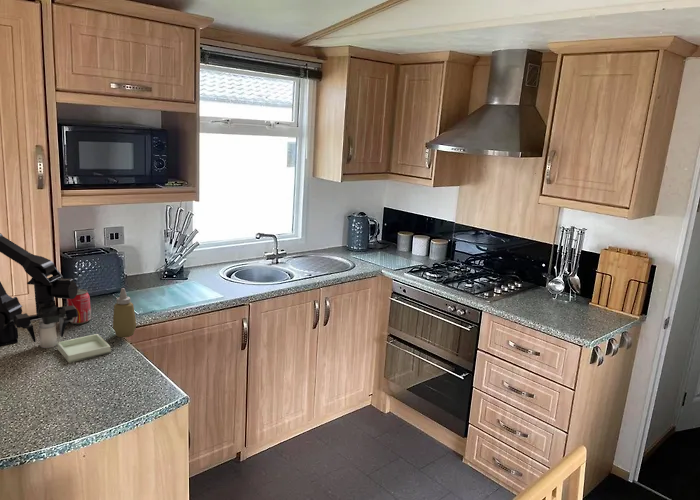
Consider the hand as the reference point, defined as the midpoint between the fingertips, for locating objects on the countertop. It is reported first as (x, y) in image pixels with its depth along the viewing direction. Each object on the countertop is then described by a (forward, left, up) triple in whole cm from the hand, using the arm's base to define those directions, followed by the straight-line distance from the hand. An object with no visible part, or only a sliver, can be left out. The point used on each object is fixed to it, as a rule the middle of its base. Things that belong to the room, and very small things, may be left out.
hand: (48, 339), depth 188 cm
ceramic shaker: (0, 0, -2) cm, 2 cm away
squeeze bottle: (+24, -6, -2) cm, 25 cm away
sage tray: (+8, -12, -2) cm, 15 cm away
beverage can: (+15, +17, -2) cm, 23 cm away
